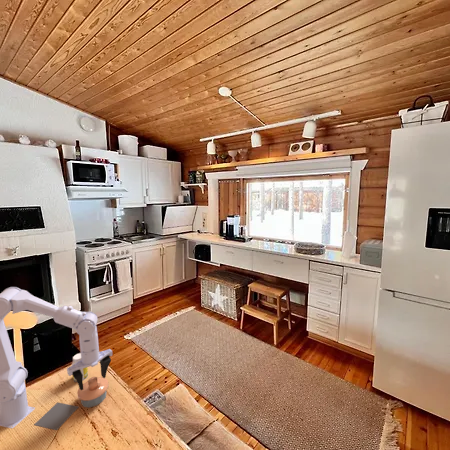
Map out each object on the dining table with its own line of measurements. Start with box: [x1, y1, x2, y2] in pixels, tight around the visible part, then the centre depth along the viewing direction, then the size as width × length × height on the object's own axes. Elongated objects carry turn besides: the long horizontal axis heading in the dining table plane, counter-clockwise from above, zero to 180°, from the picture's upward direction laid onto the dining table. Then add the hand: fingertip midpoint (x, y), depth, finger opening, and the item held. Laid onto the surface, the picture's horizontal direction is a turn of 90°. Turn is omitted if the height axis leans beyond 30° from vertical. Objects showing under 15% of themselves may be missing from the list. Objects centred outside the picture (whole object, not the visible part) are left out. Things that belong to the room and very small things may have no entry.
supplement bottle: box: [71, 352, 89, 383], centre depth 103 cm, size 5×5×10 cm
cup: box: [80, 391, 107, 408], centre depth 93 cm, size 8×8×4 cm
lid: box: [77, 376, 109, 401], centre depth 92 cm, size 10×10×4 cm
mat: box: [33, 402, 79, 431], centre depth 86 cm, size 9×9×1 cm
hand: (92, 382), depth 92 cm, fingers open, 7 cm apart
